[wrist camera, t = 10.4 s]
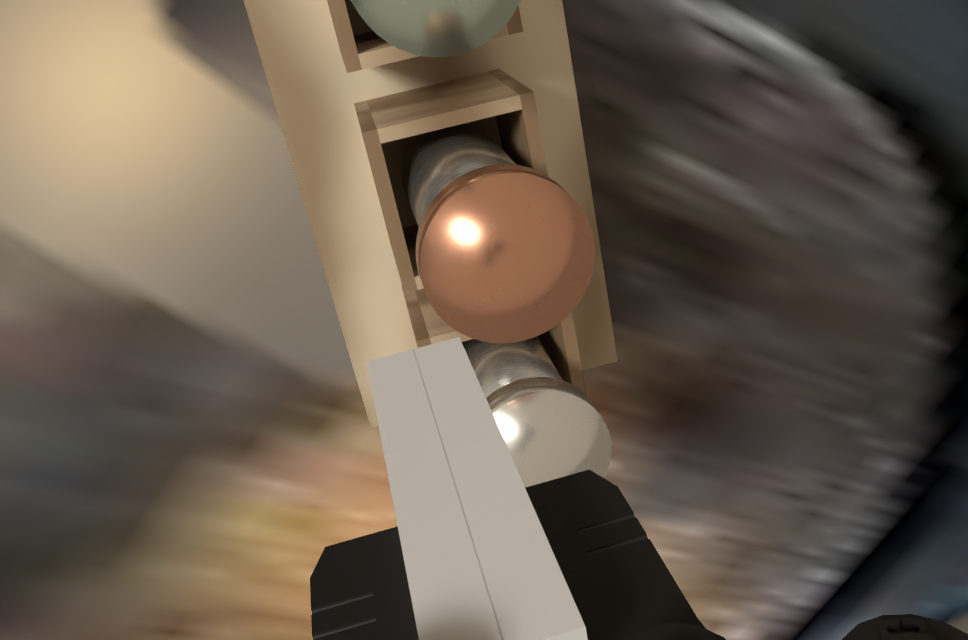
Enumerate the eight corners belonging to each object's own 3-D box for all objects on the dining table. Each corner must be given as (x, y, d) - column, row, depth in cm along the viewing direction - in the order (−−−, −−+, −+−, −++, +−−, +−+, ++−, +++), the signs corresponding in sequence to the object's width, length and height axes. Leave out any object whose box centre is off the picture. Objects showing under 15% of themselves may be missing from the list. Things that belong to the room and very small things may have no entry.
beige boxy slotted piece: (369, 412, 43) (381, 502, 36) (213, -112, 33) (189, -126, 26) (608, 348, 44) (664, 423, 37) (524, -179, 34) (579, -209, 27)
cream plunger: (442, 400, 40) (484, 537, 31) (417, 301, 38) (453, 416, 29) (548, 371, 41) (620, 498, 31) (529, 271, 38) (600, 376, 29)
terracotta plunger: (406, 251, 35) (442, 362, 26) (374, 126, 33) (401, 199, 24) (527, 220, 35) (606, 318, 26) (504, 95, 33) (580, 155, 24)
